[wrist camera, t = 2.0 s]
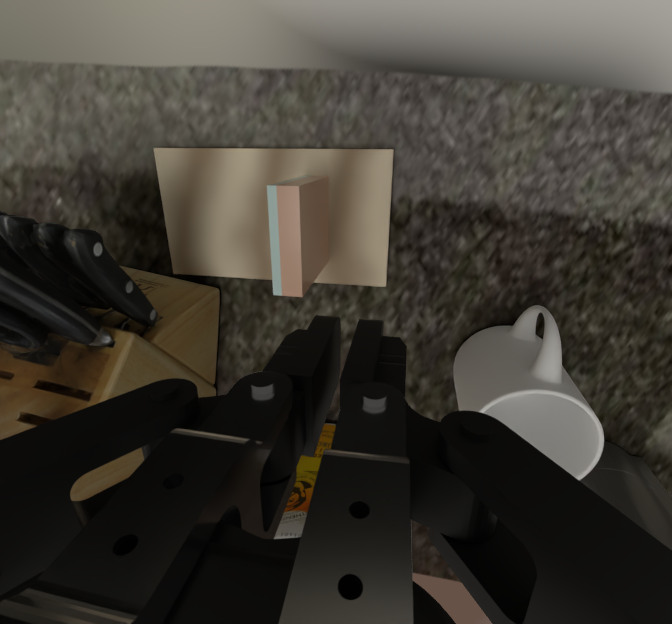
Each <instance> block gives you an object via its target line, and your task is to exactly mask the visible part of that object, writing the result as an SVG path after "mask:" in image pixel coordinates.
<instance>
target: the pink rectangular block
mask: <svg viewBox="0 0 672 624" xmlns="http://www.w3.org/2000/svg"><path fill="white" fill-rule="evenodd" d="M267 198H268V214H269V231H270V248H271V264H272V281H273V295H280V296H295V297H303V296H304V294H305V293H306V291H307V290H308V289H309V287H310V286H311V285H312V283H313V282H314V281H315V279H316V278H317V277H318V275H319V274H320V273H321V271H322V270H323V269H324V267H325V266H326V265H327V263H328V262H329V176H301V177H297V178H293V179H290V180H286V181H282V182H278V183H274V184H270V185H267Z"/></svg>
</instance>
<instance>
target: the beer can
mask: <svg viewBox="0 0 672 624" xmlns="http://www.w3.org/2000/svg"><path fill="white" fill-rule="evenodd" d="M335 428H336V424H330V423H326V424H324V427H323V430H322V433H321V436H320V439H319V442H318V445H317V448H316V451H315V454H314V457H309V456H302V455H301V457H300V460H299V463H298V465H297V479H296V483H295V485H294V488H293V490H292V493H291V496H290V498H289V501H288V503H287V506H286V508H285V511H284V514H283V516H282V519H281V521H280V524H279V526H278V529H277V532H276V534H275V537H274V539H282V538H296V537H301V535H302V531H303V527H304V523H305V520H306V516H307V512H308V508H309V504H310V500H311V496H312V493H313V489H314V485H315V481H316V477H317V473H318V469H319V466H320V462H321V458H322V454H323V452H324V449H325V448H326V449H331V444H332V440H333V436H334V432H335Z"/></svg>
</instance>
